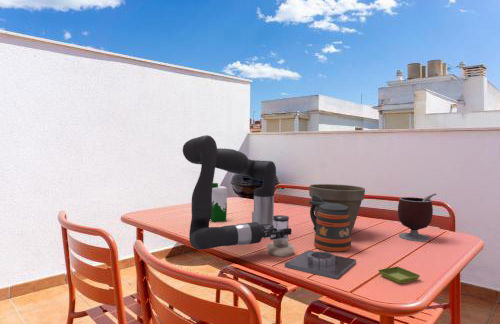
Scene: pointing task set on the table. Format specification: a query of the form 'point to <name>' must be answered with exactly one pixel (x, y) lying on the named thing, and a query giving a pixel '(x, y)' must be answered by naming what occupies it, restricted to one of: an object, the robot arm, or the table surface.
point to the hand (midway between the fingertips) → (286, 229)
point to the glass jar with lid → (280, 223)
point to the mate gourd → (415, 216)
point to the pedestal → (280, 250)
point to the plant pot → (340, 197)
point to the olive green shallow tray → (398, 274)
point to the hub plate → (321, 269)
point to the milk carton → (219, 203)
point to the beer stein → (330, 225)
